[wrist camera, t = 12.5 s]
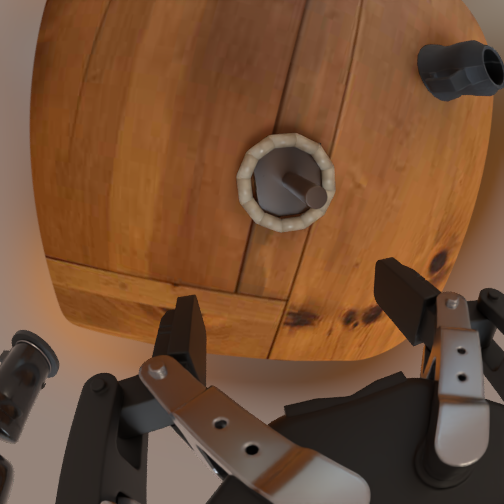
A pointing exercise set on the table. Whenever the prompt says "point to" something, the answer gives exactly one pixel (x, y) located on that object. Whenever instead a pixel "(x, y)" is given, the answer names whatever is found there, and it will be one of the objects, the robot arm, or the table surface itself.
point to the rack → (288, 182)
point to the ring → (250, 164)
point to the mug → (461, 70)
